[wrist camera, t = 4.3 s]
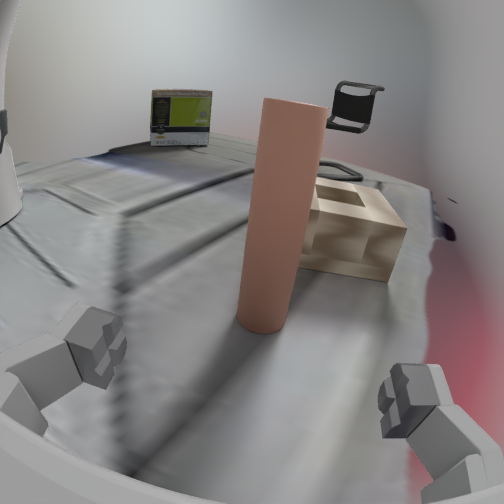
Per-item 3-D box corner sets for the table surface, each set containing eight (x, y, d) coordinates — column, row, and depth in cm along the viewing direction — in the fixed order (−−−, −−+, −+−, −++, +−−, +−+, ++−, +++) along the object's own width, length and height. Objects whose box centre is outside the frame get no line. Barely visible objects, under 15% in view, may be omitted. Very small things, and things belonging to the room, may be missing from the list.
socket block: (270, 262, 30) (280, 203, 27) (278, 215, 40) (285, 171, 37) (387, 282, 29) (407, 228, 26) (366, 231, 40) (378, 189, 37)
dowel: (232, 328, 22) (260, 97, 14) (241, 298, 25) (267, 97, 17) (283, 337, 21) (332, 109, 14) (286, 306, 24) (325, 107, 17)
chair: (369, 182, 65) (387, 87, 55) (305, 179, 59) (323, 67, 48) (335, 165, 76) (349, 82, 65) (275, 161, 69) (288, 67, 58)
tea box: (201, 140, 85) (206, 89, 77) (208, 146, 76) (214, 90, 69) (149, 140, 79) (152, 88, 72) (149, 147, 71) (152, 88, 64)
